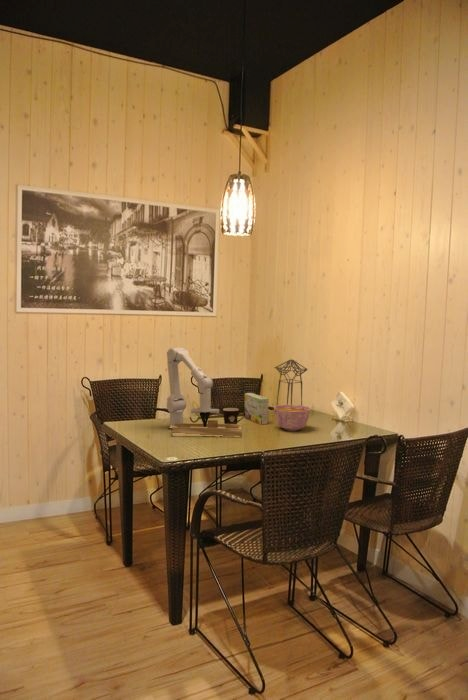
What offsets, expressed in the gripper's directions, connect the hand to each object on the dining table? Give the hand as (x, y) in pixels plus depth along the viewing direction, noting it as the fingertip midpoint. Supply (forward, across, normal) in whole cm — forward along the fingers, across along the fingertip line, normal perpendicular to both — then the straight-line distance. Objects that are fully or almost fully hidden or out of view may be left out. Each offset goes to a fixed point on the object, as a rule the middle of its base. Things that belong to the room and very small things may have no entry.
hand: (205, 426), depth 288 cm
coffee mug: (+4, +14, +17) cm, 23 cm away
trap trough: (+4, +1, 0) cm, 4 cm away
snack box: (+4, +27, +35) cm, 45 cm away
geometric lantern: (+4, +48, +49) cm, 69 cm away
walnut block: (+1, +4, 0) cm, 4 cm away
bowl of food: (+4, +46, +15) cm, 49 cm away
